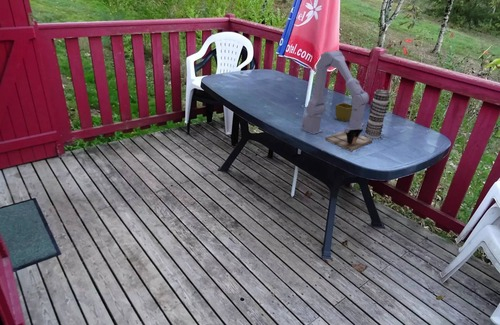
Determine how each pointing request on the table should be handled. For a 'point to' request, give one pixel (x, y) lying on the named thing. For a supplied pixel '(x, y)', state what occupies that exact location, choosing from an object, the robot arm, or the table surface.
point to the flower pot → (343, 111)
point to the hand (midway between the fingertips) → (351, 142)
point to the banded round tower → (377, 113)
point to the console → (341, 141)
